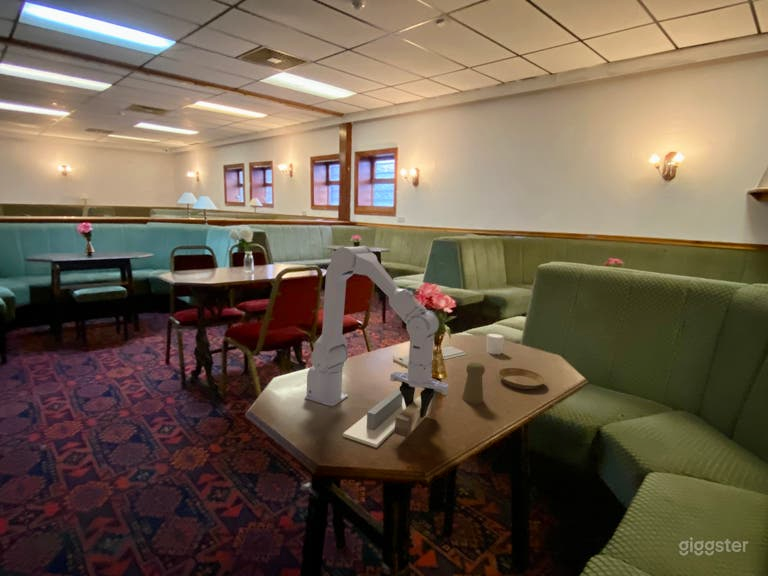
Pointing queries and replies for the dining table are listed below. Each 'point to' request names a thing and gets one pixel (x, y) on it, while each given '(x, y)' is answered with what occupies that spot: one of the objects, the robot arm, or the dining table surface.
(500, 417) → the dining table surface
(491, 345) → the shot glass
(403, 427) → the shiny metallic bar
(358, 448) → the dining table surface
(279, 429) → the dining table surface
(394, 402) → the ridge stand
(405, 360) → the baseboard
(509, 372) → the plant saucer
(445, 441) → the dining table surface
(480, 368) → the pepper mill
